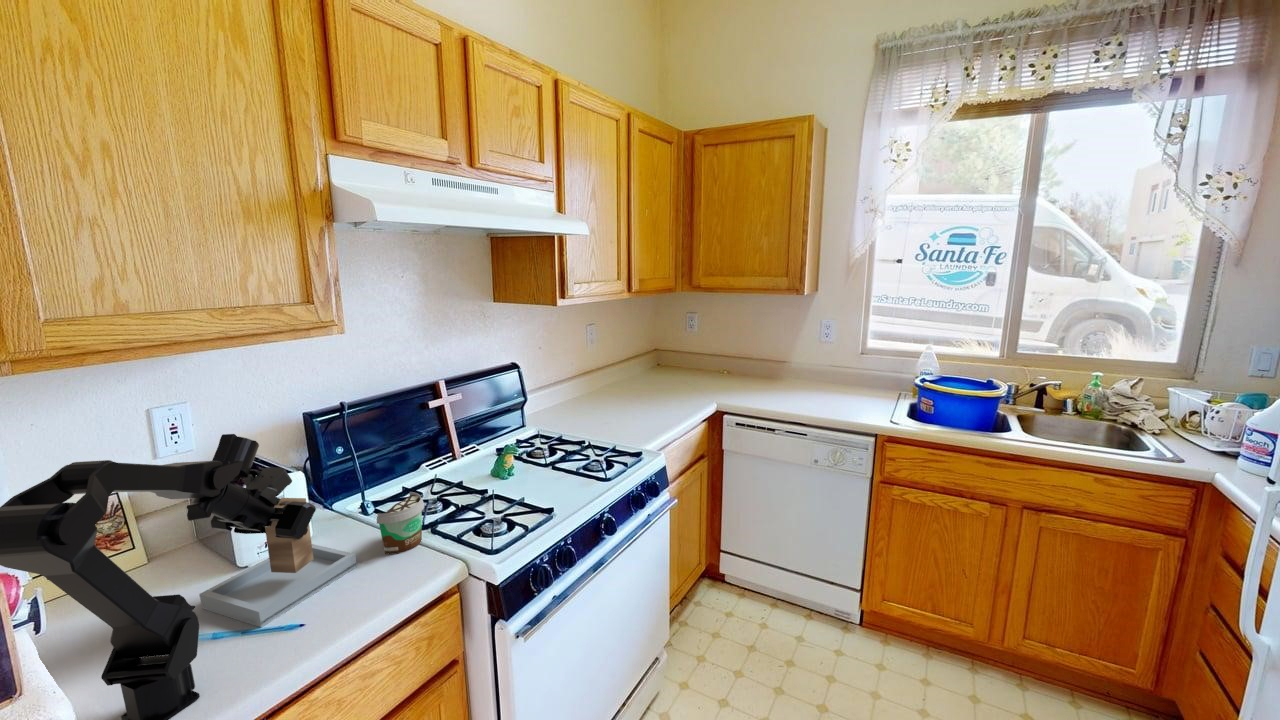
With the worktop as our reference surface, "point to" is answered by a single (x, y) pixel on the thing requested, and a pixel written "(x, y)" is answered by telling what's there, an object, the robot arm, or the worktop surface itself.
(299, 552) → the block
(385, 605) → the worktop surface
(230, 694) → the worktop surface
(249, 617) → the tray
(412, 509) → the food container
